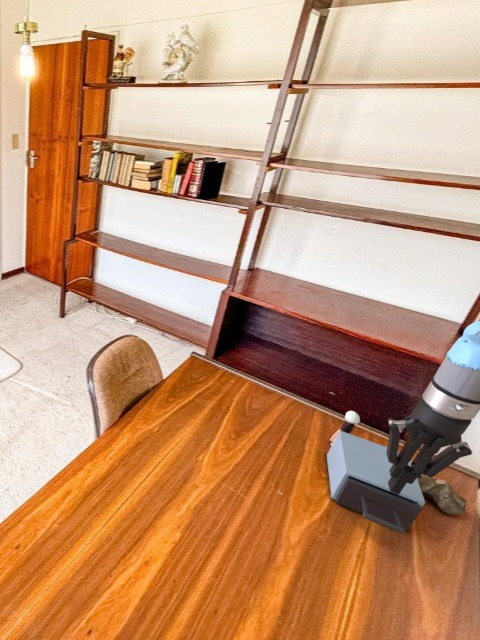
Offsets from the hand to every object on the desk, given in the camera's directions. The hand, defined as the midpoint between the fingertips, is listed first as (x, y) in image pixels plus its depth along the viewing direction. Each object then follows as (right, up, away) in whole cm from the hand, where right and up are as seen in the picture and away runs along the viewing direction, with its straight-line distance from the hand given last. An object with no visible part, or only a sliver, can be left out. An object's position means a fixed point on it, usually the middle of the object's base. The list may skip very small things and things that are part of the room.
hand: (393, 488), depth 88 cm
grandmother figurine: (+9, -2, +27) cm, 29 cm away
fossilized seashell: (+22, -9, +13) cm, 27 cm away
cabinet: (+6, -8, +14) cm, 17 cm away
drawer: (+3, -9, +10) cm, 13 cm away
